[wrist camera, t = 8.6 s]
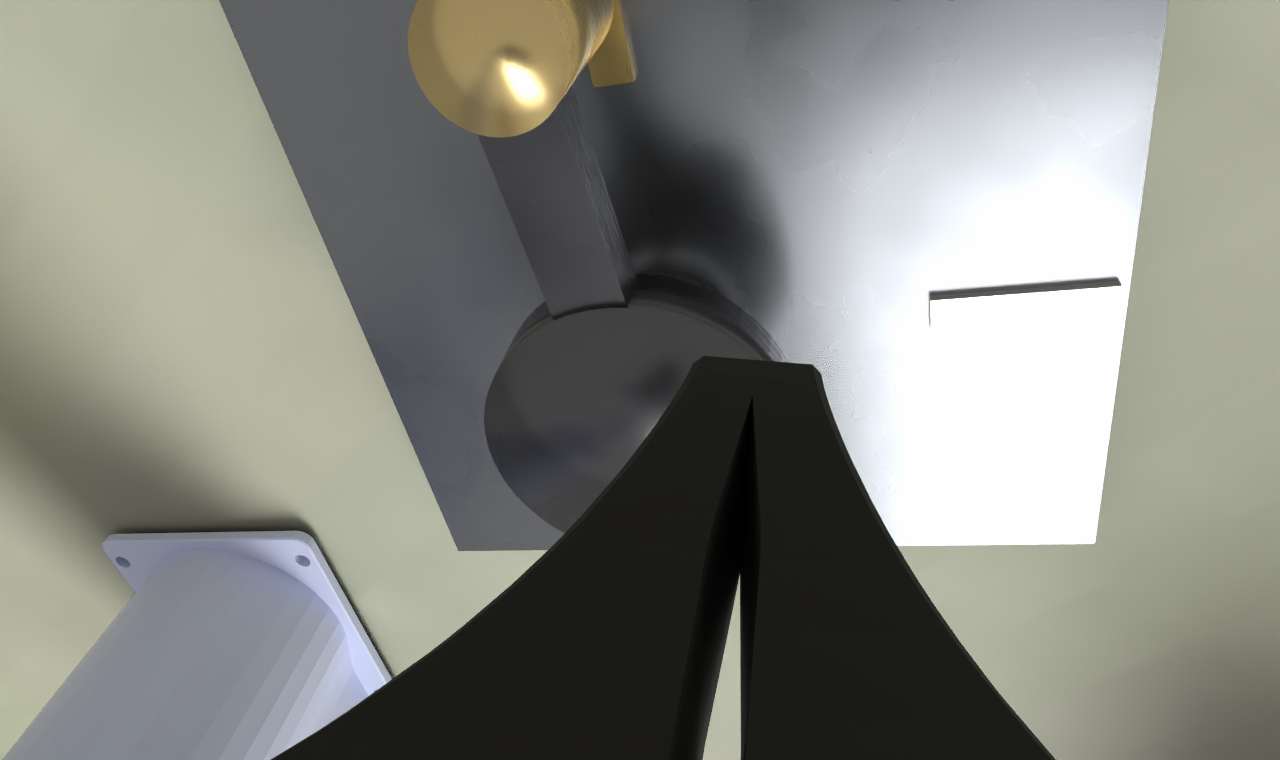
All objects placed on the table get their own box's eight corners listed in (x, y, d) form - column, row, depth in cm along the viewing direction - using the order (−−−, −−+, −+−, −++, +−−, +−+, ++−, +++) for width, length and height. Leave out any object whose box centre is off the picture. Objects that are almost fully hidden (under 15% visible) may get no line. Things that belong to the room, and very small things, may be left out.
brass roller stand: (823, 433, 20) (822, 544, 18) (582, 462, 22) (546, 567, 19) (692, -129, 14) (660, -94, 11) (372, -25, 16) (276, 27, 13)
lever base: (1083, 509, 23) (1120, 622, 20) (471, 521, 27) (429, 616, 24) (1185, -323, 13) (1284, -338, 10) (214, -103, 17) (93, -70, 14)
